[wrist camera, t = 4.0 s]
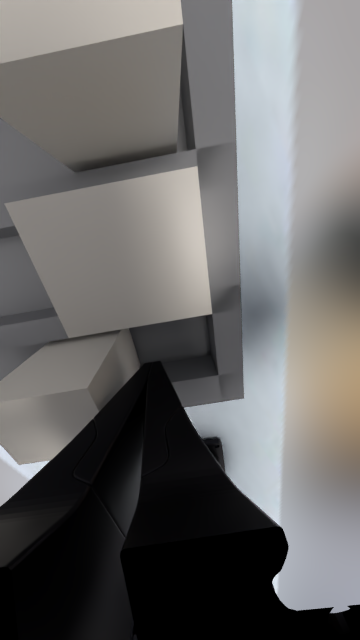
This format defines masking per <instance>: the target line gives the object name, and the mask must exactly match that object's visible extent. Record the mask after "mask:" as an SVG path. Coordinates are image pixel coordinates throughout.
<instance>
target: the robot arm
mask: <svg viewBox="0 0 360 640" xmlns="http://www.w3.org/2000/svg"><path fill="white" fill-rule="evenodd" d="M287 552H288V542H287V540H286V537H285V534H284V531H283V529H282V528H281V527H280V526H279V525H278V524H277V523H276V522H275V521H273V520H272V519H271V518H270V517H269V516H268V515H267V514H266V513H265V512H263V511H262V510H261V509H260V508H259V507H258V506H257V505H256V504H254V503H253V502H252V501H251V500H250V499H249V498H248V497H247V496H246V495H244V494H243V493H242V492H241V491H240V490H239V489H238V488H237V487H236V486H235V485H234V483H233V482H232V481H231V480H230V478H229V477H228V476H227V475H226V473H225V468H224V459H223V450H222V444H221V440H219V439H212V440H205V441H203V440H202V439H201V437H200V436H199V434H198V433H197V431H196V430H195V428H194V426H193V425H192V423H191V421H190V419H189V417H188V416H187V414H186V412H185V410H184V407H183V406H182V404H181V401H180V399H179V397H178V395H177V393H176V391H175V389H174V387H173V385H172V383H171V381H170V379H169V376H168V374H167V372H166V370H165V368H164V366H163V364H162V362H161V361H155V362H148V363H144V364H143V365H142V366H141V367H140V368H139V370H138V371H137V372H136V373H135V374H134V375H133V376H132V377H131V378H130V379H129V380H128V381H127V382H126V383H125V385H124V386H123V387H122V388H121V389H120V390H119V391H118V392H117V393H116V394H115V395H114V396H113V397H112V398H111V399H110V401H109V402H108V403H107V404H106V405H105V406H104V407H103V408H102V409H101V410H100V411H99V412H98V413H97V414H96V416H95V417H94V419H92V420H91V421H90V422H89V423H88V424H87V425H86V426H85V427H84V428H83V429H82V430H81V431H80V432H79V433H78V434H77V435H76V436H75V437H74V439H73V440H72V441H71V442H69V443H68V444H67V445H66V446H65V447H64V448H63V449H62V450H61V451H60V452H59V453H58V454H57V455H56V456H55V457H54V458H53V459H52V460H51V461H50V462H49V463H48V464H46V465H45V466H44V467H43V468H42V469H41V470H40V471H39V472H38V473H37V474H36V475H35V476H34V477H33V478H32V479H30V480H29V481H28V482H27V483H26V484H25V485H24V486H23V487H22V488H21V489H20V490H19V491H18V492H17V493H16V494H14V495H13V496H12V497H11V498H10V499H9V500H8V501H7V502H6V503H4V504H3V505H2V506H1V507H0V640H360V605H351V606H348V607H349V608H350V609H349V610H347V611H343V612H339V613H330V612H331V610H332V609H333V607H332V608H321V609H311V610H301V611H296V610H292V609H288V608H287V607H286V606H285V605H284V604H283V603H282V602H281V601H280V600H279V598H278V596H277V595H276V593H275V590H274V587H273V584H272V581H273V578H274V577H275V575H276V574H278V573H279V572H280V571H281V569H282V566H283V564H284V562H285V559H286V556H287Z"/></svg>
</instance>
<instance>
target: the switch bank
mask: <svg viewBox="0 0 360 640" xmlns="http://www.w3.org/2000/svg"><path fill="white" fill-rule="evenodd" d="M181 8H182V18H183V35H182V55H181V75H180V95H179V115H178V135H177V153H173V154H168V155H163V156H158V157H153V158H148V159H143V160H138V161H133V162H128V163H123V164H117V165H112V166H107V167H102V168H97V169H92V170H87V171H82V172H77V173H75V172H74V171H72V170H71V169H70V168H68V167H67V166H65V165H64V164H63V163H61V162H60V161H59V160H57V159H56V158H54V157H53V156H52V155H50V154H49V153H48V152H46V151H45V150H44V149H42V148H41V147H39V146H38V145H37V144H35V143H34V142H33V141H31V140H30V139H29V138H27V137H26V136H24V135H23V134H22V133H20V132H19V131H18V130H16V129H15V128H14V127H12V126H11V125H9V124H8V123H7V122H5V121H4V120H3V119H1V118H0V381H1V380H2V379H3V378H4V377H6V376H7V375H8V374H9V373H11V372H12V371H13V370H15V369H16V368H17V367H18V366H20V365H21V364H22V363H23V362H25V361H26V360H27V359H28V358H30V357H31V356H32V355H33V354H35V353H36V352H37V351H38V350H40V349H41V348H42V347H43V346H45V345H46V344H47V343H48V342H50V341H56V340H62V339H67V338H68V336H67V333H66V331H65V329H64V327H63V325H62V323H61V321H60V319H59V317H58V315H57V313H56V311H55V308H54V306H53V304H52V302H51V300H50V298H49V296H48V294H47V292H46V290H45V288H44V285H43V283H42V281H41V279H40V277H39V275H38V273H37V271H36V269H35V267H34V265H33V263H32V260H31V258H30V256H29V254H28V252H27V250H26V248H25V246H24V244H23V242H22V240H21V237H20V235H19V233H18V231H17V229H16V227H15V225H14V223H13V221H12V219H11V217H10V215H9V212H8V210H7V208H6V206H5V204H4V203H9V202H14V201H19V200H24V199H30V198H35V197H40V196H45V195H50V194H55V193H61V192H66V191H71V190H76V189H81V188H86V187H92V186H97V185H102V184H107V183H112V182H117V181H123V180H128V179H133V178H138V177H143V176H148V175H154V174H159V173H164V172H169V171H174V170H179V169H185V168H190V167H195V166H197V167H198V177H199V187H200V197H201V207H202V217H203V227H204V237H205V247H206V257H207V267H208V277H209V287H210V297H211V307H212V314H209V315H203V316H197V317H191V318H185V319H179V320H173V321H168V322H162V323H156V324H150V325H144V326H138V327H132V328H129V330H130V333H131V337H132V340H133V343H134V346H135V349H136V353H137V356H138V359H139V362H140V367H141V366H142V365H143V364H144V363H148V362H155V361H161V362H162V364H163V366H164V368H165V370H166V372H167V374H168V376H169V379H170V381H171V383H172V385H173V387H174V389H175V391H176V393H177V395H178V397H179V399H180V401H181V404H182V406H183V407H191V406H197V405H204V404H210V403H216V402H223V401H229V400H236V399H242V398H244V388H243V355H242V321H241V288H240V254H239V220H238V187H237V153H236V119H235V86H234V52H233V19H232V0H181Z"/></svg>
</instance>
